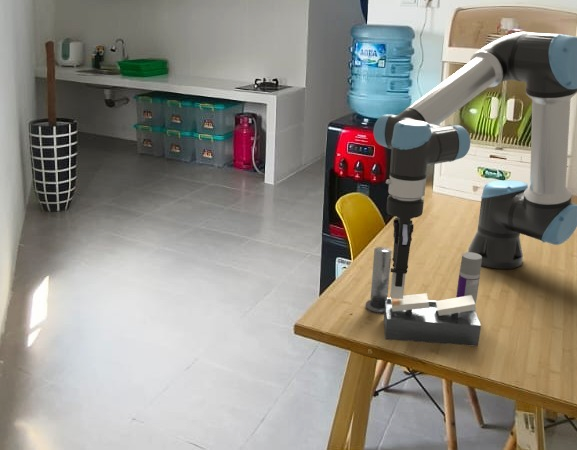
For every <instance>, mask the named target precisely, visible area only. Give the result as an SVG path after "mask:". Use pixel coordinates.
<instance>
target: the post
mask: <svg viewBox="0 0 577 450" xmlns="http://www.w3.org/2000/svg"><path fill="white" fill-rule="evenodd" d="M392 252H393V251H392V249H391V248H388V247H385V246H383V247H382V246H381V247H379V246H378V247H376V248H374V252H373V263H372V275H371V276H372V277H371V289H370V300H369V299H368V301H366V302H365V309H366V310H367V311H368V312H370V313H373V314H381V315H382V314H383V315H384V308H385V301H387V298H389V296H388V294H389V284H390V273H391V265H392V264H391V262H392V254H393V253H392Z"/></svg>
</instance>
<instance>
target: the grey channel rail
mask: <svg viewBox="0 0 577 450" xmlns="http://www.w3.org/2000/svg"><path fill="white" fill-rule="evenodd" d="M428 301H429V308H423V309H413V310H402V311H392V304H391V297H387V301H385V308H384V313H383V329H384V338H385V340H389V341H392V340H393V341H402V342H414V343H415V342H417V343H430V344H431V343H432V344H446V345H459V346H460V345H462V346H472V347H473V346H474V347H478V346H479V342H480V337H481V336H480V334H481V330H482V329H481V328H482V324H481V321H480V319H479V317H478V314H477V312H476V310H471V311H465V312H459V313H453V314H447V315H441V316H439V314H438V310H437V307H436V301H437V300H431V299H430V300H429V299H428Z"/></svg>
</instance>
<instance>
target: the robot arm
mask: <svg viewBox="0 0 577 450" xmlns="http://www.w3.org/2000/svg"><path fill="white" fill-rule="evenodd" d="M508 81H518V82H523V83H525V95H526V96H528V98H530V99H531V101H532V102H531V103H532V104H531V105H532V106H531V136H530V137H531V138H530V139H531V141H530V143H531V144H530V146H531V147H530V172H529V173H530V175H529V186H528V183H526V182H523V181H519V180H494V181H490V182H488V183H486V184H484V186H483V189H482V195H481V197H480V198H481V201H480V206H479V207H480V208H479V215H478V224H477V230H476V233H475V235H474V237H473V239H472V241H471V243H470V244H469V246H468V251H467V252H473V253H477V254H479V255H481V256H482V262H481V267H486V268H490V269H497V270H510V269H511V270H512V269H515V268H519V267H520V266H521V265H522V264H523V260H524V259H523V257H524V253H523V248H522V244H521V237H520V236H521V235H524V236H526V237H529V238H533V239H535V240H538V241H541V242H542V243H547V244H549V245H550V244H551V245H554V246H558V245H562V244H564V243H565V242H566V241H568V240H569V239H570V238H571V237H572V236H573V234H574V232H575V230H576V229H577V204H576V203H574V202H573V203H572V198H573V197H572V194H573V193H572V191H571V190H570V189H569V188H568V187H567V173H568V172H567V170H568V168H567V167H568V152H569V150H568V149H569V135H570V119H571V118H570V114H571V101H572V100H571V99H572V98H573V97H574V96H576V94H577V36H575V35H568V34H565V33H547V32H546V33H543V32H531V31H519V32H514V33H511V34H508V35H504V36H503V37H500V38H498V39H495V40H494V41H492V42H490V43H488V44H487V45H485V46H483V47H481V49H479V50H477V51H476V52H474V53H473V55H472V56H471V58H470V60H469V62H468V63H466V64H465V65H464V66H463V67H461V68H460V69H458V70H457V71H455V73H453V74H452V75H450V76H449V77H448V78H446V79H445V80H444V81H442V82H441V83H439V84H438V85H437V86H436V87H434V88H433V89H431V90H430V91H428V92H427V93H425V94H424V95H423V96H422V97H420V98H419V99H417V100H416V101H414V102H413V103H412V104H411V105H409V106H408V107H406V108H405V109H404V110H402V111H401V112H400V113H398V114H397V115H396V114H393V113H391V114H387V113H386V114H383V115H381V116H380V117H379V118H377V120H376V121H375V124H374V125H373V136H374V137H373V138H374V140H375V142H376V143H377V144H378V145H379V146H382V147H385V148H387V149H389V150H391V151H390V152H391V153H390V165H389V166H390V168H389V179H386V180H385V184H387V185H388V189H387V190H388V191H387V192H388V194H389V195H388V196H387V201H386V212H387V214H389V215H390V216H392V217H395V218H394V219H393V223H392V225H393V251H392V252H393V253H392V254H393V255H392V257H391V261H392V262H393V263H392V268H391V267H390V273H392V274H391V285H390V298H395V299H403V296H404V293H405V284H406V283H405V282H406V281H405V280H406V275H407V273H408V269H409V264H408V263H409V257H410V249H411V243H412V241H413V238H412V234H413V232H414V224H413V219H414V218H415V219H416V218H419V217H421V216H422V214H423V212H424V205H425V204H424V203H425V202H424V201H425V198H423V197H425V195H426V194H425V193H426V185H427V175H428V174H427V173H428V166H432V165H436V164H442V163H449V162H450V163H451V162H454V161H457V160H459V159H462V158H464V157H465V156H466V155H467V154H468V153H469V151H470V147H471V137H470V136H471V135H470V134H469V132H468V130H467V129H466V128H464V126H462V125H458V124H457V125H456V124H454V125H453V124H448V125H440V124H441V123H443V122H444V121H446V119H448V118H450V117H451V116H452V115H453V114H455V113H456V112H457V111H459V110H460V109H461V108H462V107H464V106H466V104H467V103H469V102H470V101H471V100H473V99H474V98H476V96H479V94H481V93H482V92H483V91H485V90H487V88H494V87H496V86H498V85H499V84H501V83H503V82H508Z"/></svg>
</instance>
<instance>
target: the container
mask: <svg viewBox="0 0 577 450" xmlns="http://www.w3.org/2000/svg"><path fill="white" fill-rule="evenodd" d="M481 262H482V256H481V255H479V254H477V253H473V252H468V251H467V252H464V253H463V252H462V254H461V261H460V265H459V267H460V268H459V273H458V274H459V275H458V281H457V288H456V295H455V298H457V297H463V296H469V295H472V297H473V300H474V302H475V306H476V305H477V299H478V292H479V291H478V290H479V285H480V278H481V268H482V265H481Z"/></svg>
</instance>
